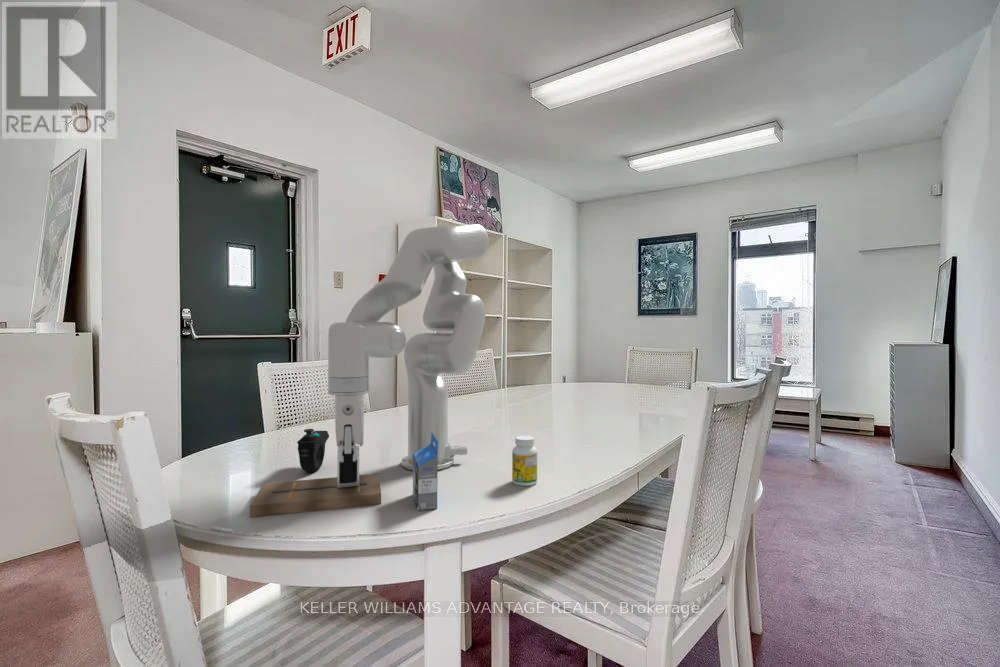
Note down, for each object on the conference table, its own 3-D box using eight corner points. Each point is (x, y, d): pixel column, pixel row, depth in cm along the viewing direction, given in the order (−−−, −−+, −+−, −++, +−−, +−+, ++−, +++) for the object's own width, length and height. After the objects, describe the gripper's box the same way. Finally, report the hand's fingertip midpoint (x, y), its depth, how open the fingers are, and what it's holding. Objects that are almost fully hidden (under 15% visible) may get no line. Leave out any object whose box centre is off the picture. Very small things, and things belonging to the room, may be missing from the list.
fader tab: (359, 480, 92) (359, 445, 92) (359, 485, 89) (359, 449, 89) (338, 482, 91) (338, 447, 91) (337, 487, 88) (337, 451, 88)
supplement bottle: (541, 484, 97) (542, 439, 97) (519, 488, 95) (519, 441, 95) (529, 477, 102) (529, 433, 102) (507, 480, 100) (508, 436, 100)
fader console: (378, 483, 98) (378, 473, 98) (381, 503, 86) (381, 492, 86) (263, 493, 91) (263, 482, 91) (249, 517, 80) (249, 505, 80)
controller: (294, 478, 101) (294, 432, 100) (312, 461, 113) (313, 421, 113) (314, 477, 101) (314, 432, 101) (330, 461, 113) (331, 420, 113)
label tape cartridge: (411, 494, 91) (412, 432, 91) (431, 492, 92) (431, 431, 92) (417, 511, 83) (417, 443, 83) (438, 509, 84) (439, 441, 84)
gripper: (369, 390, 83) (369, 491, 83) (367, 380, 99) (367, 465, 99) (325, 391, 81) (325, 496, 81) (330, 381, 97) (330, 468, 97)
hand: (348, 478), depth 90 cm, fingers closed on fader tab, 3 cm apart
